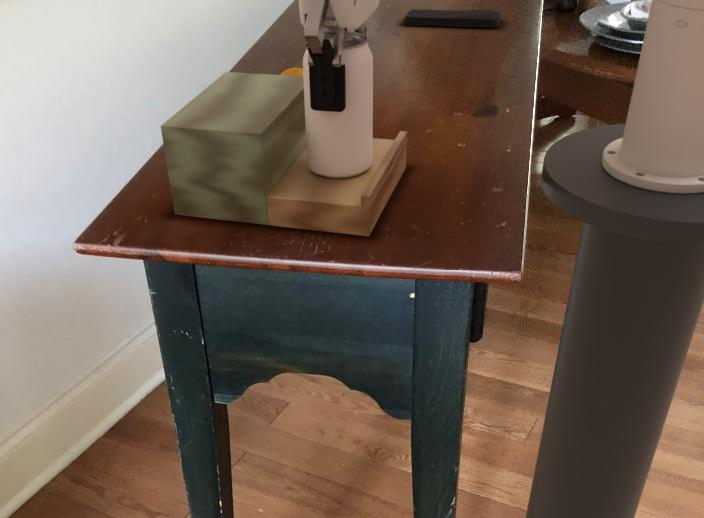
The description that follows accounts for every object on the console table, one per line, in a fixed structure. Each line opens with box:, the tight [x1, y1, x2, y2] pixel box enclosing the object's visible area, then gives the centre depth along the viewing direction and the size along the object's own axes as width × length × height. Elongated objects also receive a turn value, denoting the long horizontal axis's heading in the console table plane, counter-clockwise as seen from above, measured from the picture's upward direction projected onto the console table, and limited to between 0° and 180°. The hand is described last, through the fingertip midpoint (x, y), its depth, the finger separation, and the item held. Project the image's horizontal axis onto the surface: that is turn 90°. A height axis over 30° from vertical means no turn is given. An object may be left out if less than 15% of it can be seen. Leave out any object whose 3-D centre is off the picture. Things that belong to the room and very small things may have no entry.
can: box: [302, 31, 374, 179], centre depth 76 cm, size 6×6×12 cm
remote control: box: [403, 9, 501, 29], centre depth 128 cm, size 5×2×15 cm
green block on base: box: [160, 71, 408, 237], centre depth 80 cm, size 20×16×9 cm
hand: (339, 94), depth 75 cm, fingers closed on can, 6 cm apart
